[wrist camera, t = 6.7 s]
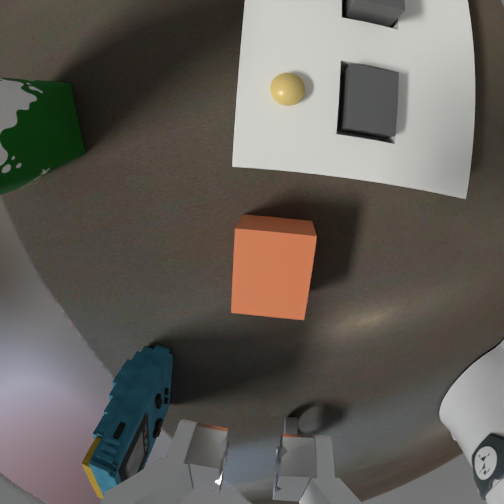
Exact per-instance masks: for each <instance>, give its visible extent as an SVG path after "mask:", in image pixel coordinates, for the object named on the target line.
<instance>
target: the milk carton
mask: <svg viewBox="0 0 504 504" xmlns="http://www.w3.org/2000/svg"><path fill="white" fill-rule="evenodd" d="M84 154H86V151H85V147H84V143H83V139H82V135H81V130H80V126H79V121H78V117H77V112H76V107H75V102H74V96H73V91H72V85H71V83H65V82H54V81H40V80H22V79H11V78H0V195H2V194H5V193H8V192H11V191H14V190H17V189H20V188H22V187H24V186H25V185H27V184H29V183H31V182H33V181H35V180H37V179H39V178H40V177H42V176H44V175H46V174H47V173H49V172H51V171H53V170H55V169H57V168H59V167H60V166H62V165H64V164H66V163H68V162H70V161H72V160H74V159H76V158H78V157H80V156H82V155H84Z"/></svg>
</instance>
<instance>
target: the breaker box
mask: <svg viewBox="0 0 504 504" xmlns="http://www.w3.org/2000/svg"><path fill="white" fill-rule="evenodd" d="M350 63H353V64H358V65H364V66H369V67H374V68H378V69H383V70H387V71H391V72H396V73H399V85H398V107H397V123H396V135H395V136H393V137H371V136H365V135H359V134H353V133H346V132H340V131H337V119H338V105H339V88H340V75H341V74H342V73H343V72H344V70H345V69H346V68H347V67H348V66H349V64H350ZM474 120H475V63H474V47H473V36H472V27H471V19H470V12H469V5H468V0H405V11H404V12H403V13H402V14H401V15H400V16H399V17H398V18H397V19H396V20H395V21H394V23H393V24H392V25H391V26H390V27H386V26H381V25H377V24H373V23H368V22H363V21H358V20H353V19H348V18H343V0H245V4H244V15H243V26H242V37H241V49H240V61H239V74H238V87H237V100H236V115H235V129H234V145H233V161H232V167H245V168H259V169H271V170H282V171H293V172H302V173H311V174H320V175H328V176H336V177H344V178H351V179H358V180H365V181H372V182H378V183H385V184H391V185H397V186H402V187H408V188H413V189H419V190H424V191H429V192H434V193H439V194H444V195H449V196H454V197H458V198H463V199H466V195H467V189H468V182H469V175H470V167H471V159H472V149H473V137H474Z"/></svg>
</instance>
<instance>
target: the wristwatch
mask: <svg viewBox="0 0 504 504" xmlns="http://www.w3.org/2000/svg"><path fill="white" fill-rule="evenodd" d="M284 434H298V419H297V417H286V418H285V425H284ZM278 447H280V446H277V451H278ZM276 456H277V452H276Z"/></svg>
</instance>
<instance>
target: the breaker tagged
mask: <svg viewBox="0 0 504 504" xmlns="http://www.w3.org/2000/svg"><path fill="white" fill-rule="evenodd" d="M398 85H399V73H396V72H391V71H387V70H383V69H378V68H374V67H369V66H364V65H358V64H353V63H350V64H349V66H348V67H347V68H346V69H345V70H344V72H343V73H342V74H341V75H340V88H339V105H338V119H337V131H340V132H346V133H353V134H359V135H365V136H371V137H393V136H395V135H396V123H397V107H398Z"/></svg>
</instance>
